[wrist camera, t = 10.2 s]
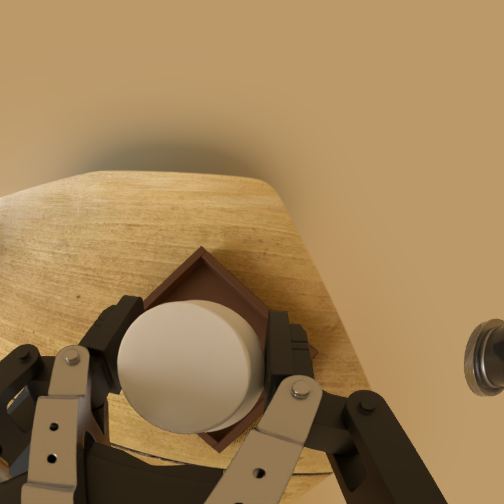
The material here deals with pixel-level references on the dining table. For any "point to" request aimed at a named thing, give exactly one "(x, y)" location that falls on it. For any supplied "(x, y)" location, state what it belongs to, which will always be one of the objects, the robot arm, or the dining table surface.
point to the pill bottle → (191, 366)
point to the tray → (229, 295)
